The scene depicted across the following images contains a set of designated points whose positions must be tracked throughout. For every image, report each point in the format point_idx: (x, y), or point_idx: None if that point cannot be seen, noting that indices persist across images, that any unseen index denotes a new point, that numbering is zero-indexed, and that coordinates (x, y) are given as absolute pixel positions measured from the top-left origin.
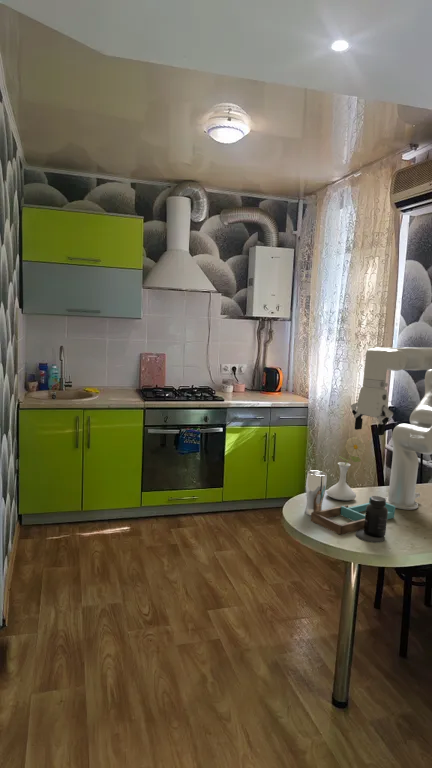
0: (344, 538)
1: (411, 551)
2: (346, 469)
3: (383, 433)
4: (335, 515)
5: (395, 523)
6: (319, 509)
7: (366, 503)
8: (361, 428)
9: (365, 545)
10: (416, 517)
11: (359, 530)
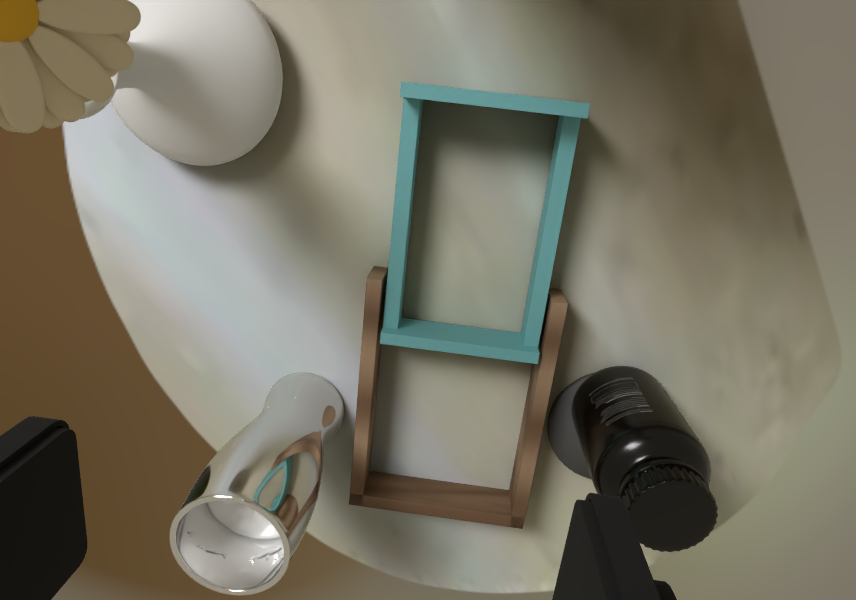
0: (547, 514)
1: (800, 417)
2: (121, 70)
3: (618, 524)
4: (379, 354)
5: (615, 170)
6: (332, 429)
7: (404, 128)
8: (66, 432)
9: None
10: None
11: (554, 423)
